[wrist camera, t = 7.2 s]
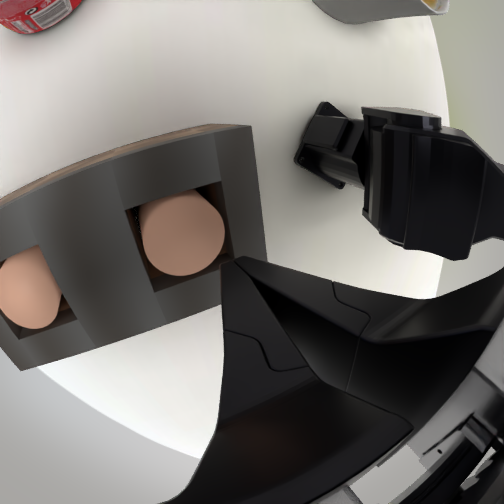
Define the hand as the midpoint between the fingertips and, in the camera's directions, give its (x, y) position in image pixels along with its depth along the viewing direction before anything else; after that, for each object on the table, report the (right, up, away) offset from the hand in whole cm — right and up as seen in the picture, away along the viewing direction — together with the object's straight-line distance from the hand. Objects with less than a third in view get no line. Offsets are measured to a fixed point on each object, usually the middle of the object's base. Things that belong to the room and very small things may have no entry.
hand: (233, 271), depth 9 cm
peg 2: (-6, +4, +11) cm, 13 cm away
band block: (-10, +3, +9) cm, 14 cm away
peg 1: (-15, +1, +8) cm, 17 cm away
